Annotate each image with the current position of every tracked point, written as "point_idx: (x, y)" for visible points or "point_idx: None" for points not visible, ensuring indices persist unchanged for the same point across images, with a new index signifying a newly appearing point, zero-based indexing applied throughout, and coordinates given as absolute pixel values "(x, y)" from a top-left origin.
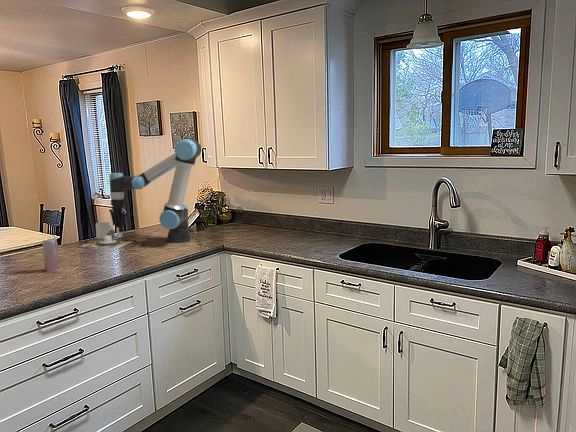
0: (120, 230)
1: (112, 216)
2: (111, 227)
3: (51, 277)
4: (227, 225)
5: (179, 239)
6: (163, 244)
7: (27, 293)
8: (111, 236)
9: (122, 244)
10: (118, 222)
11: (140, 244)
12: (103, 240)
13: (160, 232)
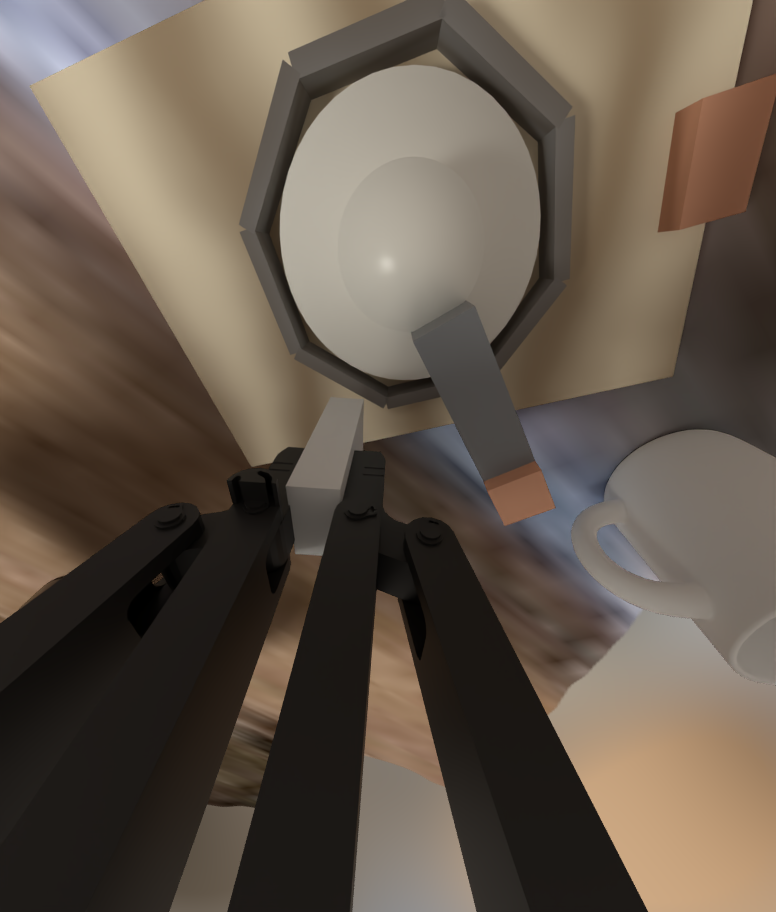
0: (274, 463)
1: (531, 868)
2: (635, 592)
3: None
4: (253, 786)
5: (22, 606)
6: (57, 522)
7: None
8: (355, 299)
9: (222, 320)
10: (223, 582)
11: (185, 457)
12: (509, 266)
13: (390, 692)
